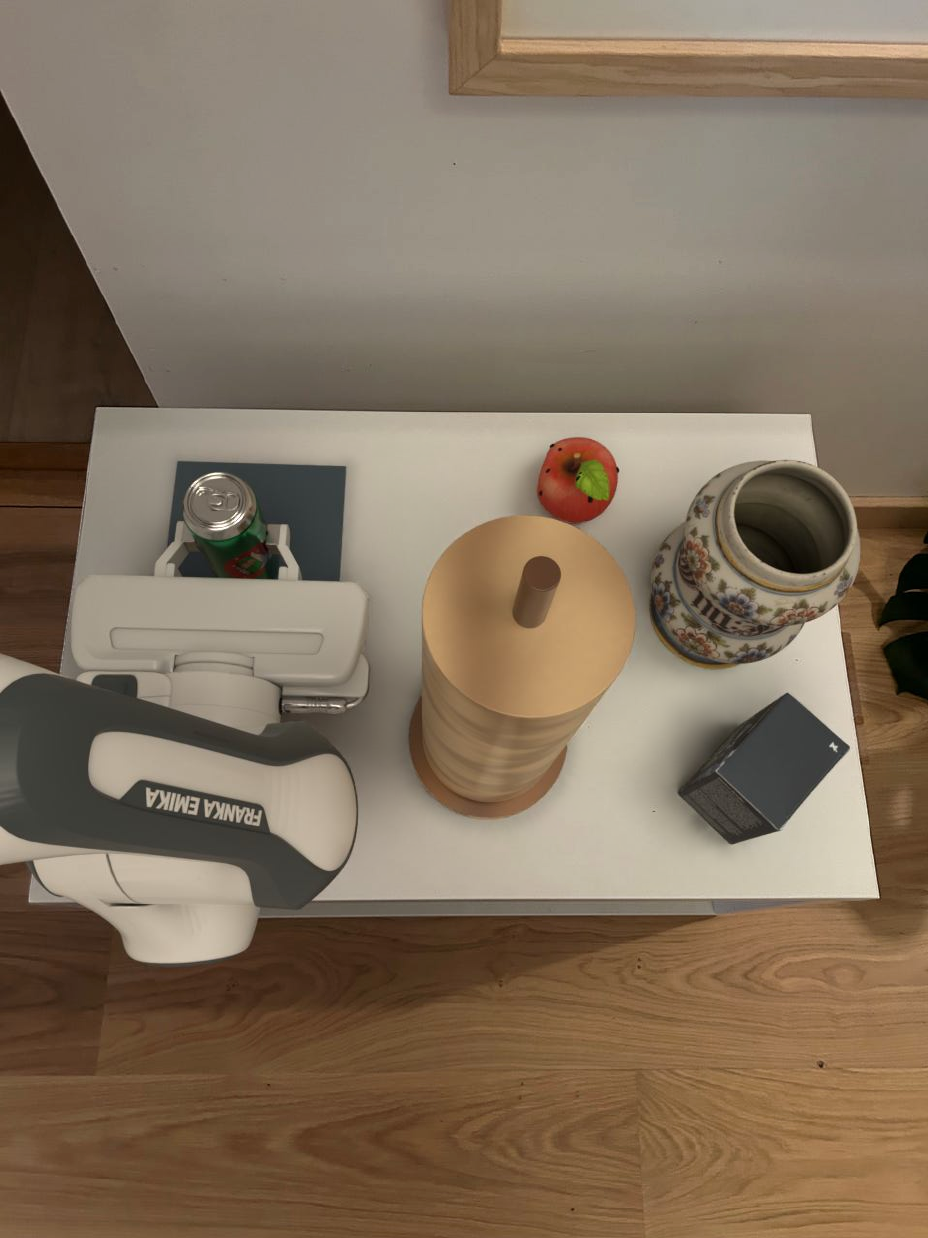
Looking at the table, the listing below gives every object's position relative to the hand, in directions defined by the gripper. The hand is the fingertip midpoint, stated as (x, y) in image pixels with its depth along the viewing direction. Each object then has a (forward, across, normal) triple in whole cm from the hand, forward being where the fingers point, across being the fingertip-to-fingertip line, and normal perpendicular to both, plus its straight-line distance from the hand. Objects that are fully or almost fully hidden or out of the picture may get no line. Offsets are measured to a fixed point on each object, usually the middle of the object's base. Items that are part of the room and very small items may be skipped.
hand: (234, 525), depth 68 cm
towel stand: (-14, -19, +8) cm, 25 cm away
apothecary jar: (-3, -37, +8) cm, 38 cm away
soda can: (-1, 0, +6) cm, 6 cm away
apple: (+6, -26, +8) cm, 28 cm away
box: (-17, -38, +8) cm, 42 cm away
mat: (+3, 0, +8) cm, 8 cm away
